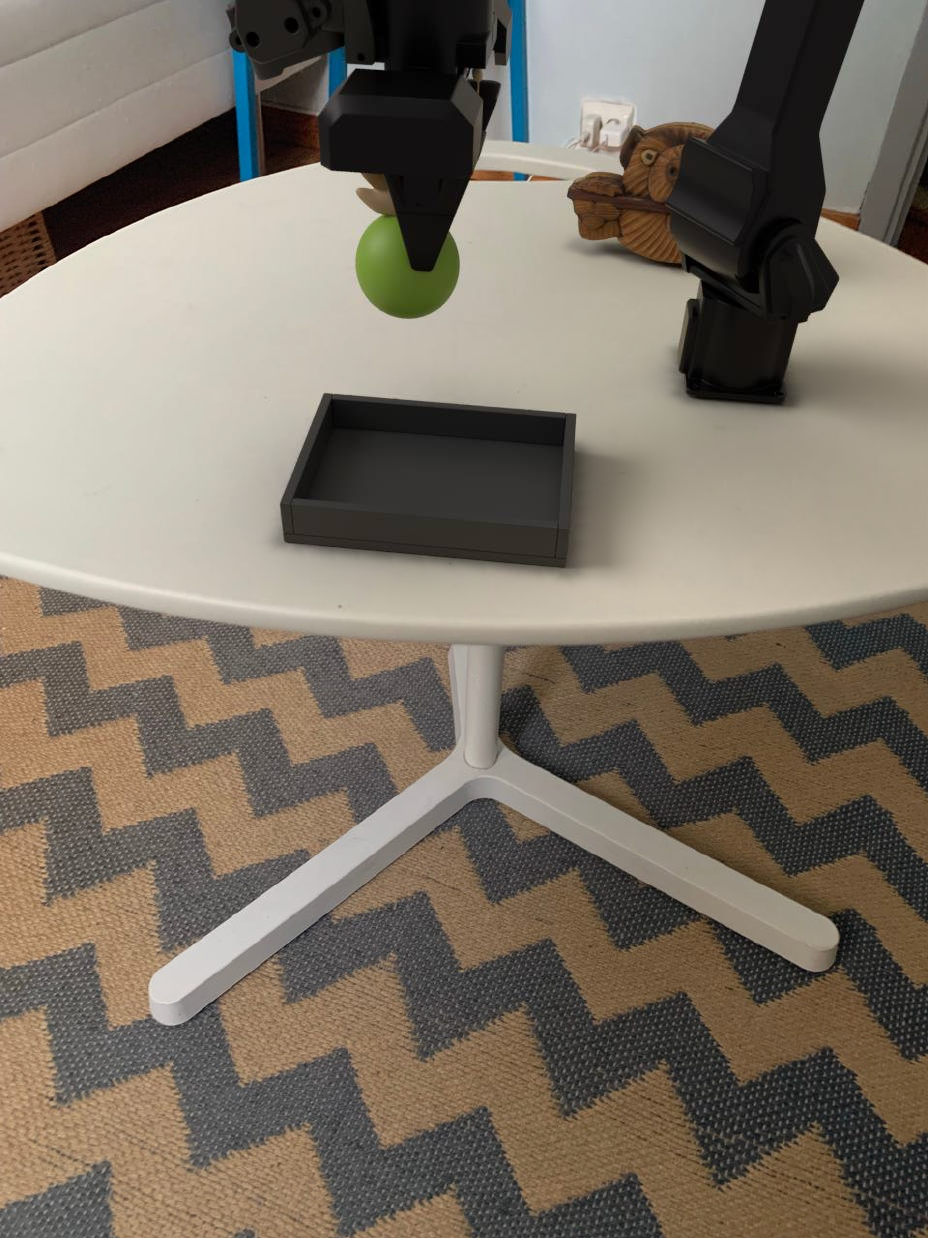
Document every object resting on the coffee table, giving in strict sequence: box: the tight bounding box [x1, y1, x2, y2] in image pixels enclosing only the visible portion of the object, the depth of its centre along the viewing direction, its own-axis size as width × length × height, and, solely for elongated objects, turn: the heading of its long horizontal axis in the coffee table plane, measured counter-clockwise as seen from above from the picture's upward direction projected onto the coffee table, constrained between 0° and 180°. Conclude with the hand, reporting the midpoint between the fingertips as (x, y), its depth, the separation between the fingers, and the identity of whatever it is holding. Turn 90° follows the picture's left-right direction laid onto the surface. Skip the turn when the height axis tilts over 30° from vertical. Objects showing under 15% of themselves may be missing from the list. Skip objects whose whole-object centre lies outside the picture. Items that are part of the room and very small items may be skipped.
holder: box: [279, 392, 577, 568], centre depth 59 cm, size 15×11×3 cm
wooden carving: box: [566, 121, 716, 264], centre depth 81 cm, size 16×5×10 cm, turn 78°
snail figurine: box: [354, 69, 484, 320], centre depth 52 cm, size 5×6×12 cm
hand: (427, 254), depth 53 cm, fingers closed on snail figurine, 3 cm apart
